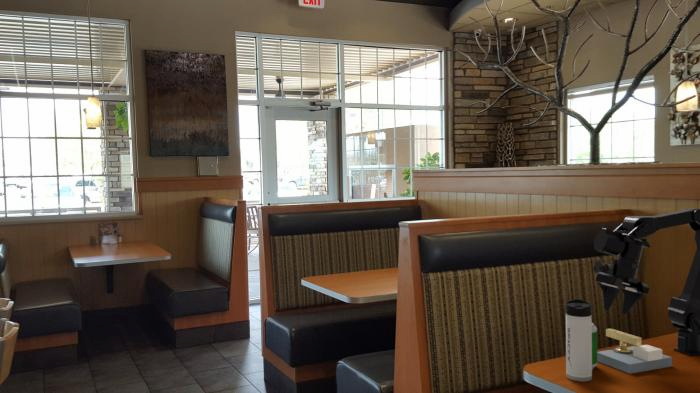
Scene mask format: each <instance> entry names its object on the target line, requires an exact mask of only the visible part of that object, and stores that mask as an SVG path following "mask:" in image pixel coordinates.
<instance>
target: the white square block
mask: <svg viewBox="0 0 700 393" xmlns="http://www.w3.org/2000/svg"><path fill="white" fill-rule="evenodd" d="M634 346H635V347H633V356H635V357H638V358H640V359H643V360H646V361H653V360H659V359H662V354H663V348H659V347H656V346H652V345H650V344H642V345H639V346H636V345H634Z"/></svg>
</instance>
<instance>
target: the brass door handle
mask: <svg viewBox="0 0 700 393" xmlns="http://www.w3.org/2000/svg"><path fill="white" fill-rule="evenodd" d="M605 337H608V338H611V339H614V340H617V341H619V346H617V347H615V348H616V351H617V352H621V353H630V352H631V349H629V348H627V347H628V344H630V345H631V346H641V345H643V344H642V337H640V336H636V335H633V334H631V333H630V334H629V333H627V332H623V331H621V330H617V329H614V328H605Z"/></svg>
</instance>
